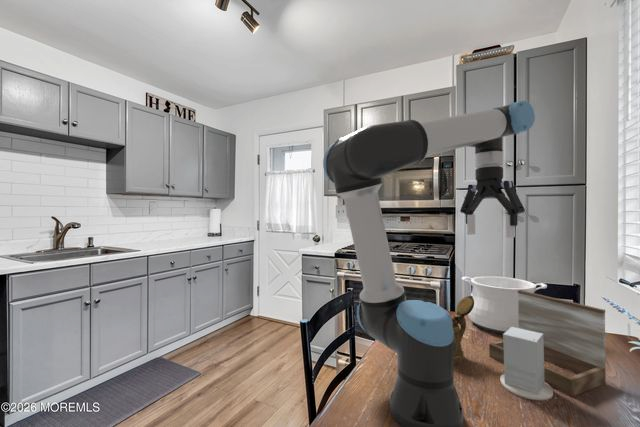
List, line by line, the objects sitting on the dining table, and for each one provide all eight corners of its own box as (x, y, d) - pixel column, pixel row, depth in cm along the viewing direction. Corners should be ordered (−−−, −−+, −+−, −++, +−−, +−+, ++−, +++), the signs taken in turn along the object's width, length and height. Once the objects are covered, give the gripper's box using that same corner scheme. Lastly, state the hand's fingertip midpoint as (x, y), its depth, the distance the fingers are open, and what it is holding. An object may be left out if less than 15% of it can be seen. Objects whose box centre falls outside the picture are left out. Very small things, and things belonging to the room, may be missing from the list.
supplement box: (545, 383, 77) (545, 333, 77) (538, 395, 72) (537, 342, 72) (512, 372, 82) (511, 325, 82) (503, 383, 77) (502, 333, 77)
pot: (458, 329, 115) (457, 283, 115) (465, 310, 136) (465, 271, 136) (551, 345, 100) (551, 292, 100) (544, 322, 121) (543, 278, 121)
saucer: (533, 405, 69) (533, 401, 69) (490, 380, 80) (490, 377, 80) (563, 393, 74) (563, 390, 74) (519, 372, 84) (518, 369, 84)
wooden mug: (483, 359, 91) (483, 299, 91) (443, 365, 88) (442, 303, 88) (463, 346, 100) (463, 292, 100) (426, 351, 97) (425, 294, 97)
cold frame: (572, 396, 72) (571, 317, 72) (489, 356, 93) (488, 295, 93) (606, 383, 78) (605, 309, 78) (520, 348, 98) (520, 290, 98)
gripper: (538, 161, 84) (539, 238, 84) (465, 172, 107) (465, 233, 107) (520, 160, 81) (521, 239, 81) (448, 172, 104) (449, 233, 104)
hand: (489, 235), depth 94 cm, fingers open, 13 cm apart
